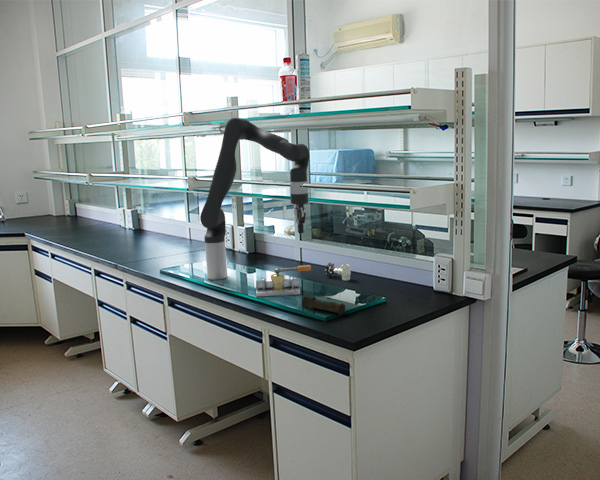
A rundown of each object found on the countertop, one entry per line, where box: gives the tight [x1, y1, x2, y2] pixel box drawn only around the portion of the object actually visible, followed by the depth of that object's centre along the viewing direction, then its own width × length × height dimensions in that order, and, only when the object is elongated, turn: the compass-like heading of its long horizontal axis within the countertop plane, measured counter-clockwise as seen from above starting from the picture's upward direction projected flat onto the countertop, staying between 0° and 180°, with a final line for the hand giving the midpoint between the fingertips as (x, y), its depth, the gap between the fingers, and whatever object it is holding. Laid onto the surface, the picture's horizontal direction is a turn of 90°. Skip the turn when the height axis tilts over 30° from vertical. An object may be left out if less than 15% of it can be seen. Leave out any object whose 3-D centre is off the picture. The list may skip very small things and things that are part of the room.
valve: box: [324, 262, 351, 282], centre depth 245 cm, size 7×7×12 cm
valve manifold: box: [255, 272, 301, 298], centre depth 229 cm, size 12×18×8 cm, turn 92°
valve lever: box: [274, 264, 312, 274], centre depth 229 cm, size 15×2×2 cm, turn 99°
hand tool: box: [301, 294, 346, 316], centre depth 202 cm, size 19×4×5 cm, turn 48°
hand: (300, 232), depth 234 cm, fingers closed
